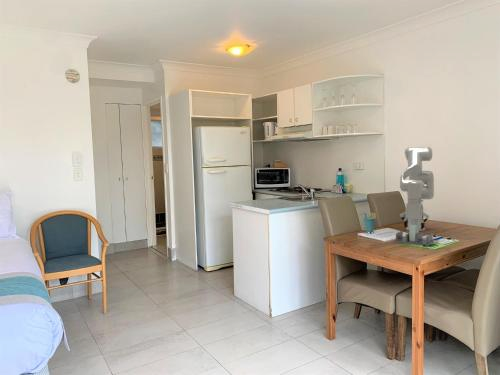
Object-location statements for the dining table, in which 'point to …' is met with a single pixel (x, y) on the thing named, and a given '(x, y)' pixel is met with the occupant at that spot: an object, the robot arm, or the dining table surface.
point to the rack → (418, 241)
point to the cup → (369, 222)
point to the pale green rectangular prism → (413, 231)
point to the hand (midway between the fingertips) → (414, 228)
